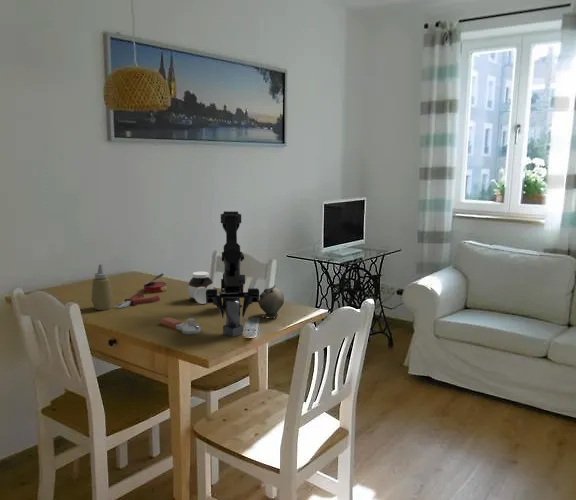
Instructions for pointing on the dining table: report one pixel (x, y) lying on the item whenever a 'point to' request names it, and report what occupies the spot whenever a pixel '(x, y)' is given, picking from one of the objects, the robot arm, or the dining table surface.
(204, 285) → the spread jar
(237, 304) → the socket
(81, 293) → the dining table surface
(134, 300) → the pliers
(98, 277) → the squeeze bottle
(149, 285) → the canned food
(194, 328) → the ratchet
